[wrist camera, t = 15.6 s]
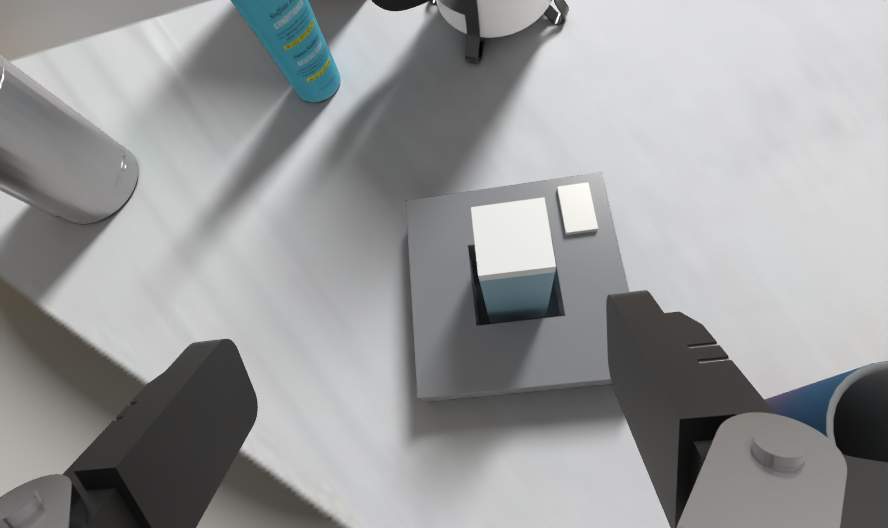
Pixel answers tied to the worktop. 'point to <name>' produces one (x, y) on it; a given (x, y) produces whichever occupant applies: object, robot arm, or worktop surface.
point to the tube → (294, 44)
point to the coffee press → (486, 17)
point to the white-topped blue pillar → (514, 258)
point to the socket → (521, 342)
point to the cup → (844, 410)
